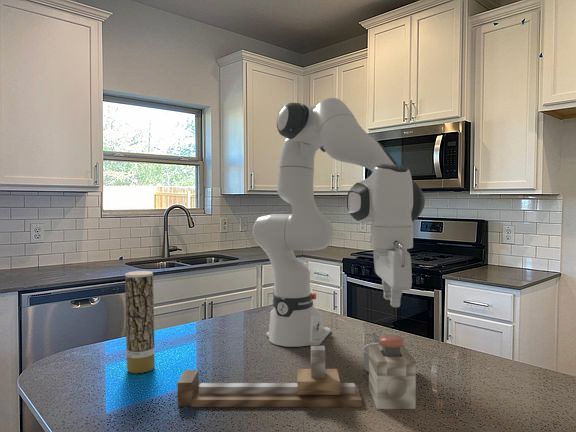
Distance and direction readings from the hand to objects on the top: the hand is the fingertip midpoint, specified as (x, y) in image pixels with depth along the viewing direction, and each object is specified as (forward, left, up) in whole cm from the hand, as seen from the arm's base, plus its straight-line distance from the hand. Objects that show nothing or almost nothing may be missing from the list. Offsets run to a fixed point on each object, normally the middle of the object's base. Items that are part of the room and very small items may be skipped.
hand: (391, 302), depth 97 cm
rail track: (+11, -18, -21) cm, 30 cm away
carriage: (+8, -14, -19) cm, 25 cm away
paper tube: (+16, -61, -21) cm, 66 cm away
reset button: (0, 0, -12) cm, 12 cm away
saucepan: (-18, -8, -22) cm, 29 cm away
